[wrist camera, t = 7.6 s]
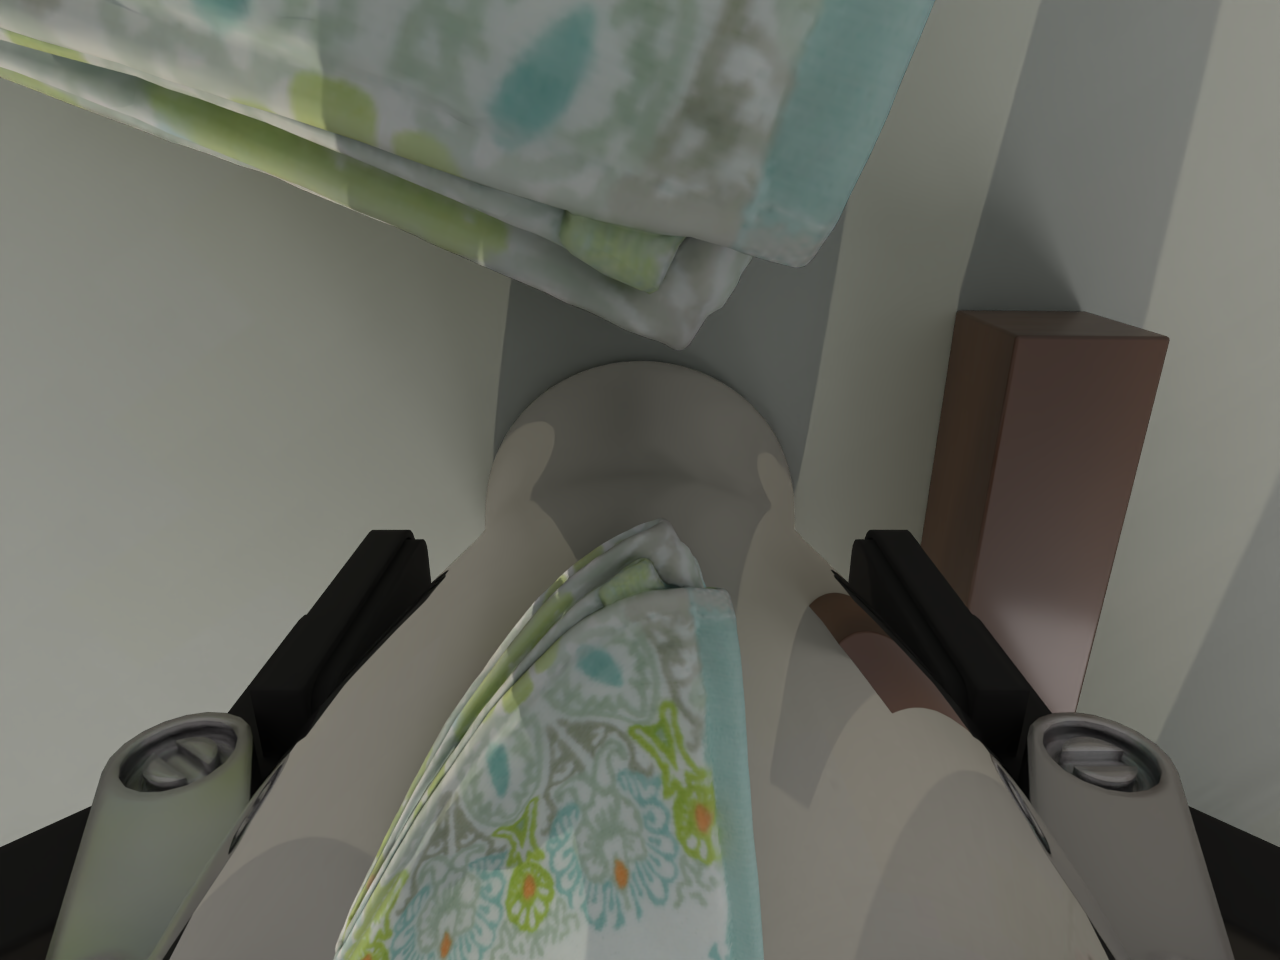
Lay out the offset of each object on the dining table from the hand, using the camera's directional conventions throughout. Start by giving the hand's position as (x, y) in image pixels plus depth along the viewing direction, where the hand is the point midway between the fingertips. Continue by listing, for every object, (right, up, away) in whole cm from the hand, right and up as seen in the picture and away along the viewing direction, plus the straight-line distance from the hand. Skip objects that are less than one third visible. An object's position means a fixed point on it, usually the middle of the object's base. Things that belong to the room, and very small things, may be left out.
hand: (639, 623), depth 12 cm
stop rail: (+7, +1, +5) cm, 8 cm away
